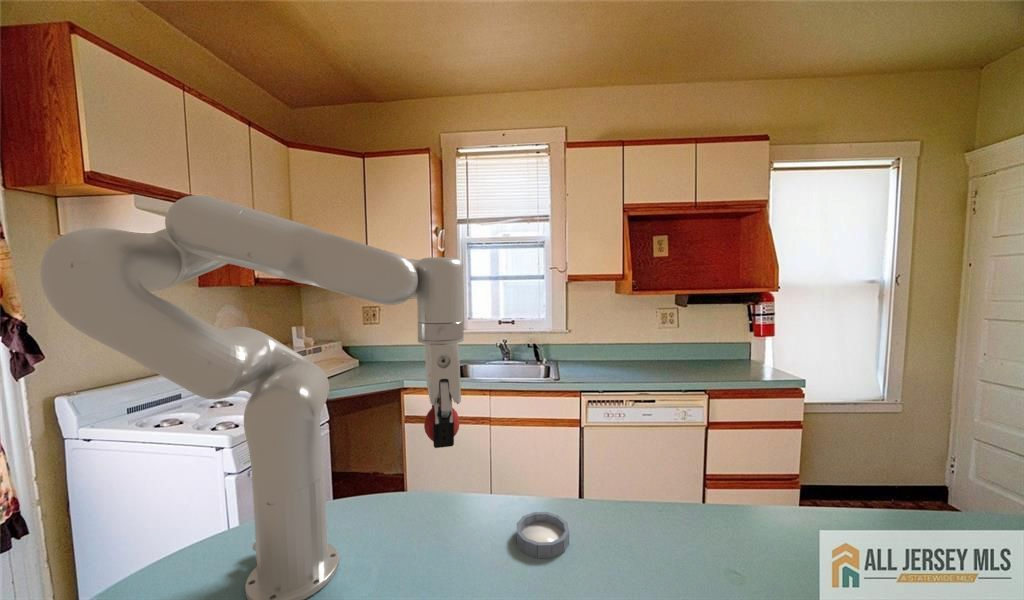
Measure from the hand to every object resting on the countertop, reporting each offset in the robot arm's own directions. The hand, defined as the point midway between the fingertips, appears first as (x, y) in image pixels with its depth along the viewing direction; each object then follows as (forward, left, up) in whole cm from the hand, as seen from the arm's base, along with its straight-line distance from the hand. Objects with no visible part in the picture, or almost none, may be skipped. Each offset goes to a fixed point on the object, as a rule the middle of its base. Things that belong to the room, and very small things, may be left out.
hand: (441, 437), depth 67 cm
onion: (0, 0, -2) cm, 2 cm away
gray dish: (+14, +9, -19) cm, 25 cm away
